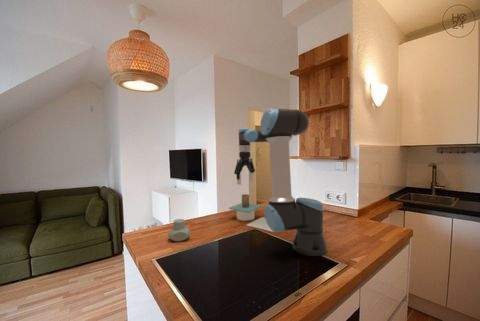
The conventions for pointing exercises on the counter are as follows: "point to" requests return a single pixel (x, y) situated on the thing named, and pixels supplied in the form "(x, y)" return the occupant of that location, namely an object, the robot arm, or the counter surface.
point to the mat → (260, 224)
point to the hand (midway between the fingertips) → (245, 183)
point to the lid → (245, 205)
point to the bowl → (245, 215)
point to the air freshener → (179, 230)
